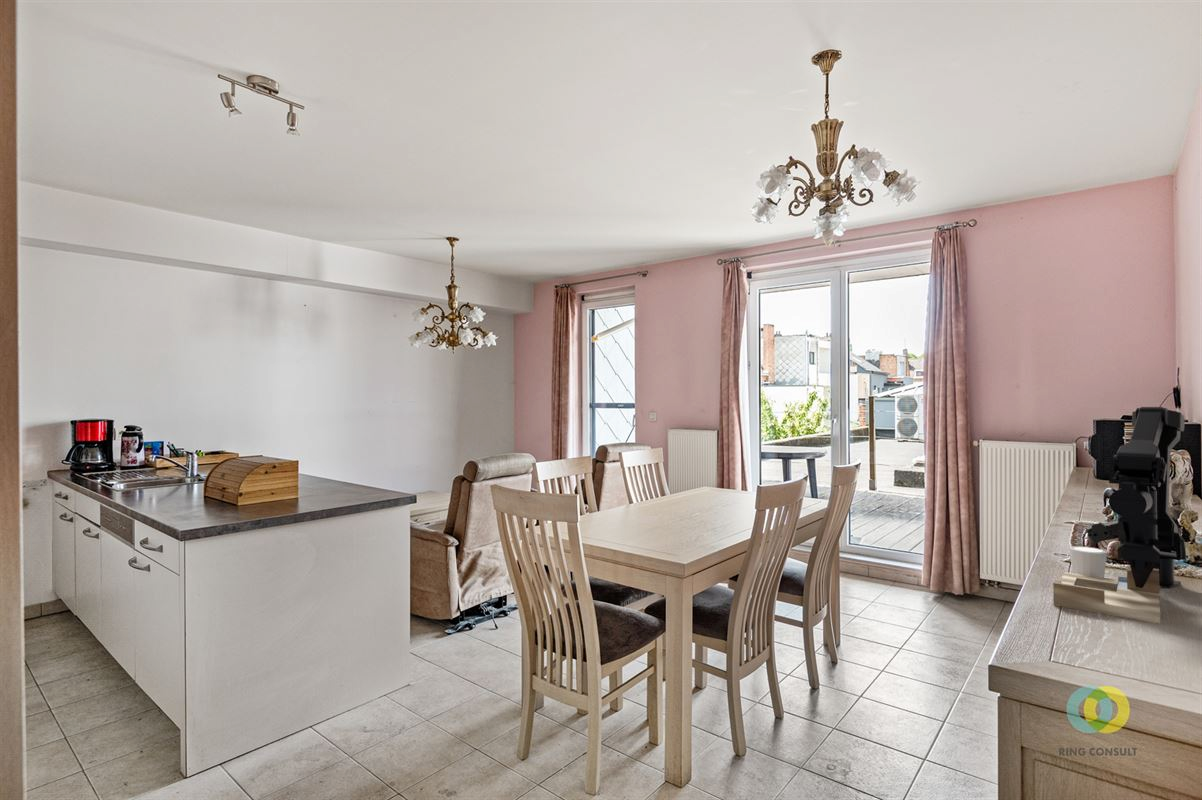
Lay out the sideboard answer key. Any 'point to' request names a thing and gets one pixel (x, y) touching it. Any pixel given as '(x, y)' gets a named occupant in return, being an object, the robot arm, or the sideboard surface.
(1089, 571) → the white cylinder
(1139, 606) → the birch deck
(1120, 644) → the sideboard surface
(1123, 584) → the strip
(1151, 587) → the walnut block
